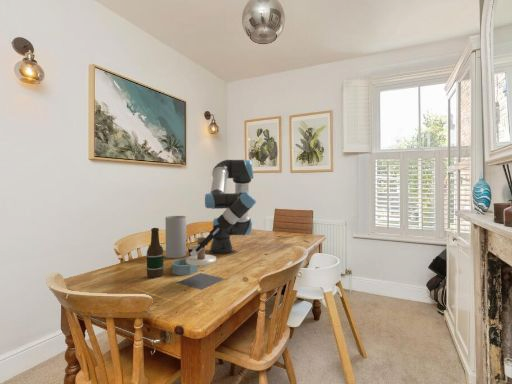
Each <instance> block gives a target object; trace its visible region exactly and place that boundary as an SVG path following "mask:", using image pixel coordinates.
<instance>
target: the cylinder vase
mask: <svg viewBox="0 0 512 384" xmlns="http://www.w3.org/2000/svg"><path fill="white" fill-rule="evenodd" d="M186 256H187V216H186V215H169V216H166V217H165V257H166V258H167V259H181V258H184V257H186Z"/></svg>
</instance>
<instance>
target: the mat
mask: <svg viewBox="0 0 512 384" xmlns="http://www.w3.org/2000/svg"><path fill="white" fill-rule="evenodd" d="M224 280H225V278H223V277H219V276H215V275H211V274H207V273H202V272H200V273H197V274H194V275H192V276H189V277H186V278H183V279H181V280H180V281H176V282H175V283H177V284H180V285H184V286H186V287H187V286H188V287H190V288H195V289H197V290H201V291H203V290H205V289H206V288H208V287H211V286H213V285H215V284H217V283H219V282H221V281H224Z"/></svg>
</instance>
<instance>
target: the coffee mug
mask: <svg viewBox="0 0 512 384" xmlns="http://www.w3.org/2000/svg"><path fill="white" fill-rule="evenodd" d="M196 247H197V245H192V246H188V248H187V250H188V257H190V256H191V254H190V253H191V252H192V251H193V250H194V249H195V248H196Z"/></svg>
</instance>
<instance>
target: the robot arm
mask: <svg viewBox="0 0 512 384" xmlns="http://www.w3.org/2000/svg"><path fill="white" fill-rule="evenodd" d="M253 170H254V169H253V163H252V161H251V160H250V159H225V160H222V161H220V162H218V163H217V164H216V165H215V166H214V167H213V169H212V172H211V176H212V182H211V186H210V187H211V189H210V192H209V193H206V194H205V195H204V206H205V209H212V210H214V209H215V210H217V209H218V210H219V209H221V210H222V209H225V210H224V211H223V212H222V214H220V215H219V217H215V218H214V219H213V221H212V229H211V230H210V232H209V233H208V235H207V236H206V237H205V239H204V240H203V241H202V242H201V243H200V242H199V245H198V246H197V245H196V246H197V247H196V248H195V249H194V250H193V251H192V252H191V253H190V254H191V256H192V257H193V258H194V257H195V256H196V255H197V254H198V253H199V252H200V251H201V250H202V249H203V248H204V247H205V248H206V246H209V243H210V242H211V241H212V242H211V245H210V252H211V253H214V254H226V253H230V252H232V251H233V245H232V242H231V236H244V237H245V236H249V235H250V234H251V233H252V229H253V228H252V227H253V219H252V217H251V216H250V215H249V211H250V210H251V209H252V208H253V207H254V205H256V203H257V201H256V198H254V196H252V194H250V193H249V188H250V187H249V184H250V183H251V182H252V179H254V172H253ZM227 179H232V181H233V183H234V185H235V190H234V192H235V193H226V186H227Z"/></svg>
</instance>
